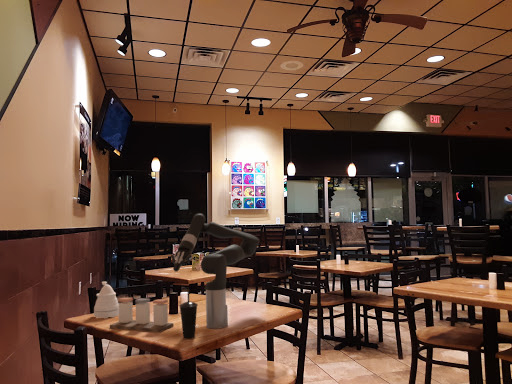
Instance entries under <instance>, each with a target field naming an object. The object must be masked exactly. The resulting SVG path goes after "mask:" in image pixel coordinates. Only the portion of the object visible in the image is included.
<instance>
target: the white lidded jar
mask: <svg viewBox="0 0 512 384" xmlns="http://www.w3.org/2000/svg"><path fill="white" fill-rule="evenodd" d="M150 302H151V298H142V297H141V298H137V299H135V320H136V324H147V323H149V322H151V320H150V319H151V315H150V314H151V313H150V312H151V310H150V309H151V307H150V306H151V305H150V304H151V303H150Z"/></svg>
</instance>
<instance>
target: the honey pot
mask: <svg viewBox="0 0 512 384" xmlns="http://www.w3.org/2000/svg"><path fill="white" fill-rule="evenodd" d="M101 284H102V287H101V289H100V291H99V293H96V297H97V298H96V301H95V305H94V307H93V317H94V316H95V317H98V318H104V319H109V318H108V317H112V318H116V317H119V316H118V315H119V302H118V298H117V296H116V294H117V293H116V292H115V291H114V289H113V287H112V286H111V285H110V284H108V282H107V281H101ZM115 316H116V317H115ZM98 318H97V319H98Z"/></svg>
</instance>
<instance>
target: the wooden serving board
mask: <svg viewBox="0 0 512 384" xmlns="http://www.w3.org/2000/svg"><path fill="white" fill-rule="evenodd" d="M173 327H174V322H168V324H166V325H163V326H160V325H154V321H150V322H149V323H147V324H136V319H135V320H134V319H133V321H131V322H128V323H122V322H119V321H118V322H114V323H111V324H109V329H113V328H117V329H116V330H125V329H128V331H139V332H149V333H162V332H165V331H166V330H169V329H171V328H173Z"/></svg>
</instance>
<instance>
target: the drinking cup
mask: <svg viewBox="0 0 512 384" xmlns="http://www.w3.org/2000/svg"><path fill="white" fill-rule="evenodd" d="M179 309H180V317H181V329H182V337H183V339H184V340H193V339H195V338H196V324H197V311H198V310H197V309H198V303H196V302H194V301H190V289H187V301H184V302H183V303H181V304H179Z"/></svg>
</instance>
